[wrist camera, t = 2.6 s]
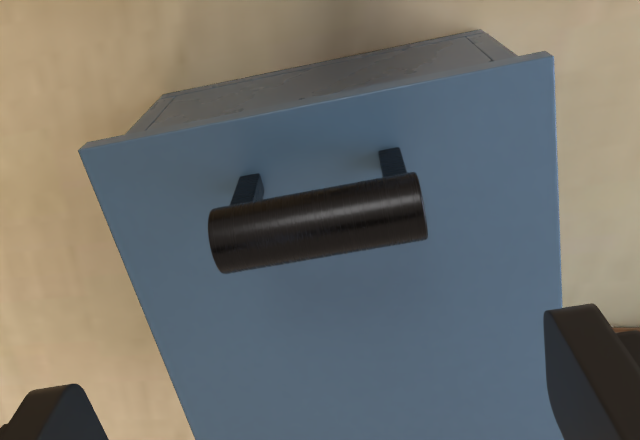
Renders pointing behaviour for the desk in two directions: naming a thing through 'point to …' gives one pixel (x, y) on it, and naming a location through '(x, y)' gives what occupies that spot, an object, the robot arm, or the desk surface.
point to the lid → (351, 257)
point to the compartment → (323, 78)
